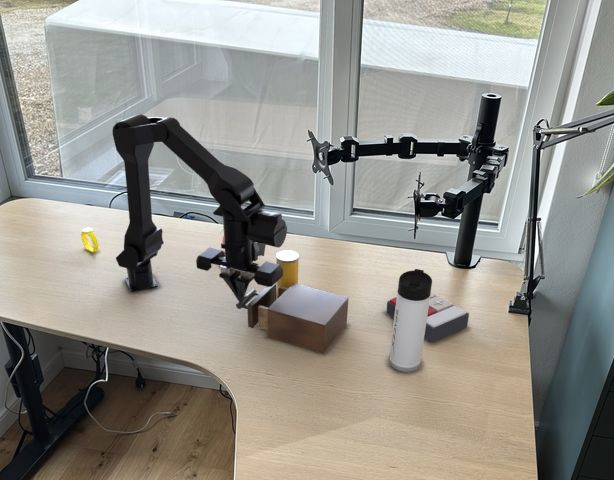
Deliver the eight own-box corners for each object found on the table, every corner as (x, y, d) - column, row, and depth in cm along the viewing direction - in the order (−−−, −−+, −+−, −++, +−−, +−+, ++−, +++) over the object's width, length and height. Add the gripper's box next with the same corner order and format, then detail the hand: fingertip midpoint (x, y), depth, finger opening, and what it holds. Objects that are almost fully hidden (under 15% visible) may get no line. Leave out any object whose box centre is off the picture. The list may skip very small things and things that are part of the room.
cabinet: (267, 337, 140) (267, 309, 136) (293, 310, 149) (293, 283, 145) (323, 354, 136) (325, 325, 132) (346, 325, 145) (348, 297, 141)
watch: (102, 252, 170) (98, 231, 167) (93, 256, 169) (89, 235, 165) (90, 245, 174) (86, 224, 170) (80, 248, 172) (76, 227, 168)
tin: (271, 294, 155) (271, 254, 149) (288, 287, 158) (288, 248, 152) (286, 303, 152) (286, 263, 146) (302, 295, 155) (303, 256, 149)
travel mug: (422, 357, 136) (436, 271, 124) (416, 375, 131) (429, 288, 119) (393, 350, 137) (403, 265, 126) (385, 368, 132) (395, 281, 121)
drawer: (231, 322, 143) (230, 300, 140) (256, 299, 152) (255, 277, 148) (299, 341, 138) (299, 319, 135) (320, 316, 146) (321, 295, 143)
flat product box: (421, 284, 153) (470, 310, 142) (420, 301, 155) (468, 327, 145) (386, 298, 147) (434, 326, 137) (385, 315, 150) (432, 343, 139)
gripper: (294, 230, 140) (294, 293, 149) (220, 213, 146) (223, 275, 156) (270, 251, 132) (271, 317, 141) (191, 233, 138) (197, 296, 147)
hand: (240, 300), depth 146 cm, fingers closed
